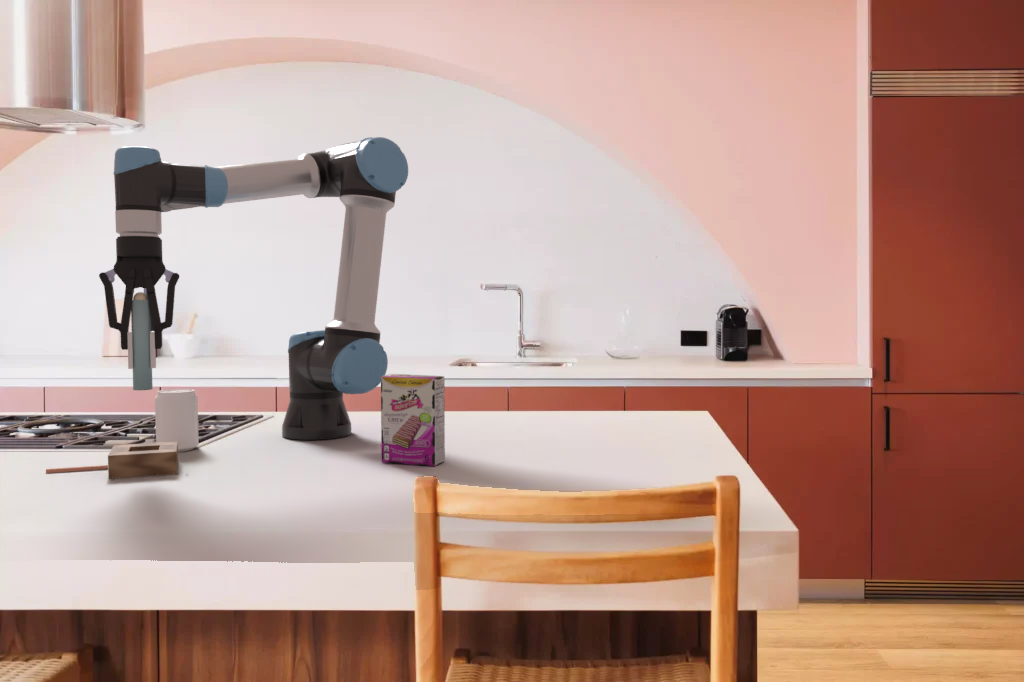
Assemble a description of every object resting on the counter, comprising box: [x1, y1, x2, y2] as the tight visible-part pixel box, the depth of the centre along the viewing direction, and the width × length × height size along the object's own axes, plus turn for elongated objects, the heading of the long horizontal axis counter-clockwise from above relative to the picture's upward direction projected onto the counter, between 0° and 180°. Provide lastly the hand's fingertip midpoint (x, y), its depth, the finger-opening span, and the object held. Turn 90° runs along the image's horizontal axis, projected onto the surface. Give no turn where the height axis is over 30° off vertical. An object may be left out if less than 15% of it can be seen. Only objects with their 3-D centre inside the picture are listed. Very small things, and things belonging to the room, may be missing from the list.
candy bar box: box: [380, 373, 446, 467], centre depth 165 cm, size 11×5×16 cm, turn 71°
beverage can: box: [154, 388, 199, 453], centre depth 181 cm, size 8×8×12 cm
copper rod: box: [45, 464, 108, 474], centre depth 160 cm, size 10×1×1 cm, turn 109°
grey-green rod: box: [130, 291, 154, 391], centre depth 158 cm, size 3×3×17 cm
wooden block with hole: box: [107, 442, 179, 480], centre depth 160 cm, size 11×11×4 cm
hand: (142, 367), depth 159 cm, fingers closed on grey-green rod, 3 cm apart
